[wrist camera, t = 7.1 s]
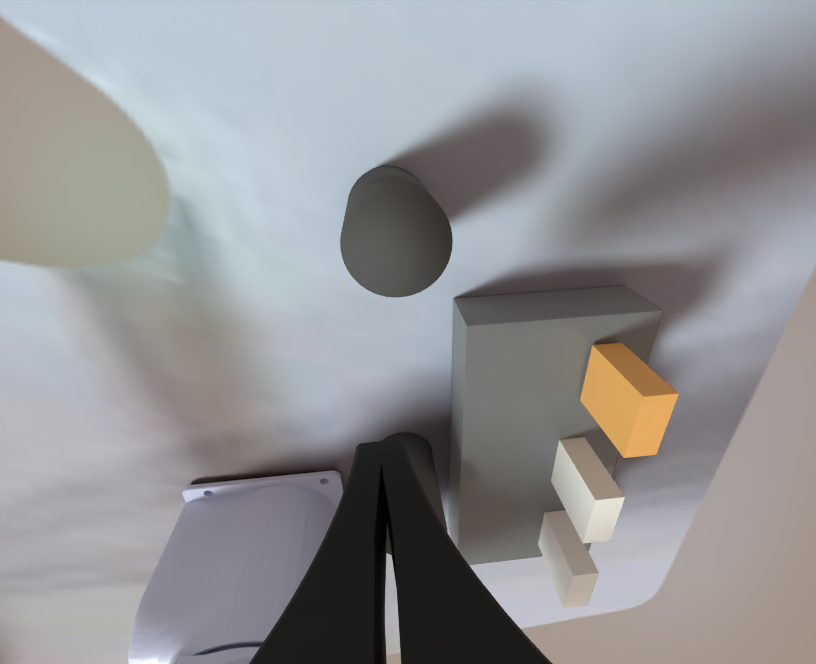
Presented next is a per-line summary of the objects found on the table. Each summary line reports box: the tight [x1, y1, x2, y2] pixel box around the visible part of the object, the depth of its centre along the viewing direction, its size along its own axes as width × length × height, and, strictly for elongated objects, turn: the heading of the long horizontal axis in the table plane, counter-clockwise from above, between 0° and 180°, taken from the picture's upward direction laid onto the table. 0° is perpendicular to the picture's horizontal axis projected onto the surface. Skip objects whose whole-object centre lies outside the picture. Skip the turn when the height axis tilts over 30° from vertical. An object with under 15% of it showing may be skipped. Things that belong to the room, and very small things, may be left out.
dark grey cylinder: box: [340, 166, 452, 297], centre depth 15 cm, size 4×4×6 cm
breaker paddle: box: [580, 343, 679, 458], centre depth 17 cm, size 1×3×4 cm, turn 2°
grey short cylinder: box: [381, 433, 447, 555], centre depth 22 cm, size 4×4×6 cm
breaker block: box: [449, 286, 663, 608], centre depth 21 cm, size 9×18×7 cm, turn 2°
